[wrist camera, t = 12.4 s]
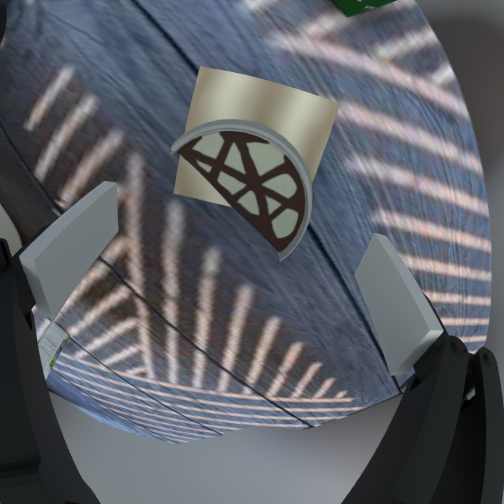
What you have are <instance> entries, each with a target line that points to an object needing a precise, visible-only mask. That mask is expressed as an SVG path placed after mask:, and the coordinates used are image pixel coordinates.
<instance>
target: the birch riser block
mask: <svg viewBox="0 0 504 504" xmlns="http://www.w3.org/2000/svg"><path fill="white" fill-rule="evenodd" d="M339 106H340V104H338V103H335V102H333V101H330V100H327V99H325V98H322V97H319V96H316V95H313V94H310V93H308V92H305V91H301V90H298V89H295V88H292V87H289V86H285V85H282V84H278V83H275V82H271V81H267V80H264V79H260V78H256V77H252V76H247V75H243V74H238V73H234V72H229V71H224V70H218V69H213V68H207V67H200V70H199V73H198V77H197V81H196V85H195V89H194V93H193V97H192V101H191V105H190V110H189V114H188V119H187V123H186V128H185V133H186V132H188V131H189V130H191V129H193V128H195V127H197V126H200V125H202V124H204V123H207V122H212V121H216V120H223V119H240V120H248V121H252V122H255V123H259V124H262V125H264V126H266V127H268V128H270V129H273V130H274V131H276V132H277V133H279V134H280V135H282V136H283V137H284V138H286V139H287V140H288V141H289V142H290V143H291V144H292V145H293V146H294V147H295V149H296V150H297V151H298V153H299V154H300V156H301V157H302V159H303V161H304V163H305V165H306V167H307V169H308V172H309V175H310V179H311V184H312V182H313V180H314V177H315V174H316V172H317V169H318V166H319V163H320V161H321V158H322V155H323V152H324V149H325V147H326V144H327V141H328V138H329V135H330V132H331V130H332V127H333V124H334V121H335V118H336V115H337V112H338V109H339ZM185 133H184V134H185ZM174 194H178V195H183V196H187V197H191V198H196V199H200V200H204V201H209V202H213V203H217V204H221V205H225V206H229V207H231V206H230V205H229V203H228V202H227V201H226V200H225V199H224V198H223V197H222V196H221V195H220V194H219V193H218V191H217V190H216V189H215V188H214V187H213V186H212V185H211V184H210V183H209V182H208V181H207V180H206V179H205V178H204V177H203V176H202V175H201V174H200V173H199V172H198V171H197V170H196V169H195V168H194V167H193V166H192V165H191V164H190V163H189V162H188V161H186V160H185V159H184V158H183V157H182V156H181V155H180V159H179V164H178V170H177V176H176V182H175V188H174Z"/></svg>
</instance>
